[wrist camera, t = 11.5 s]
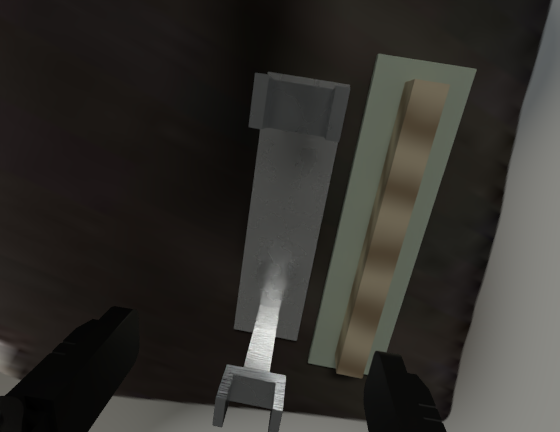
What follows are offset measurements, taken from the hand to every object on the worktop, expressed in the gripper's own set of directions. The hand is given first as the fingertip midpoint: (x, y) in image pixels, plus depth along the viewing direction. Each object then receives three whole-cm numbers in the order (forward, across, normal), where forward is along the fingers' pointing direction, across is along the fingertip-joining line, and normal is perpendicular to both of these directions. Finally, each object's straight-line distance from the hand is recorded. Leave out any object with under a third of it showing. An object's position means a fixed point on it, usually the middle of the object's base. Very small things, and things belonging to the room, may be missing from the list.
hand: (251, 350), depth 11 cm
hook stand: (+26, 0, +5) cm, 26 cm away
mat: (+26, -10, +5) cm, 28 cm away
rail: (+25, -10, +5) cm, 27 cm away
